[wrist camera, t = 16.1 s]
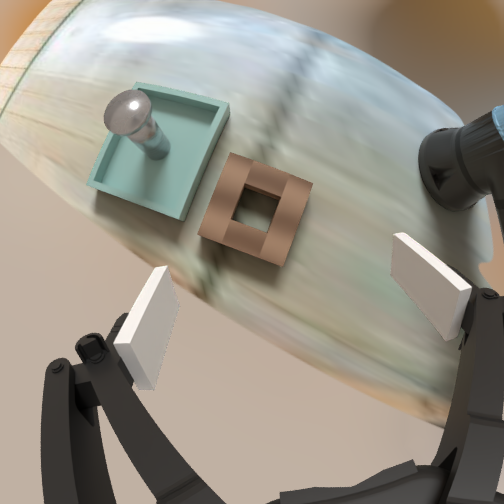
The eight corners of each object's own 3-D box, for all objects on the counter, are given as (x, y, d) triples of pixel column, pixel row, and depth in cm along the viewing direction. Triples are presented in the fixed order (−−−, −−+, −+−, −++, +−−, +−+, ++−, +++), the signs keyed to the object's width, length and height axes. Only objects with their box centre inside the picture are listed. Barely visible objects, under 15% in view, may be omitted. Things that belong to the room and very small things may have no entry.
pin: (150, 127, 39) (118, 86, 26) (181, 136, 39) (158, 94, 26) (134, 159, 39) (95, 128, 26) (166, 169, 39) (135, 138, 26)
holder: (231, 158, 40) (230, 152, 37) (308, 187, 41) (313, 183, 38) (200, 235, 40) (197, 234, 37) (280, 265, 41) (282, 266, 38)
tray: (142, 91, 40) (136, 81, 36) (230, 113, 40) (229, 103, 37) (96, 189, 40) (86, 184, 36) (184, 221, 40) (178, 219, 37)
